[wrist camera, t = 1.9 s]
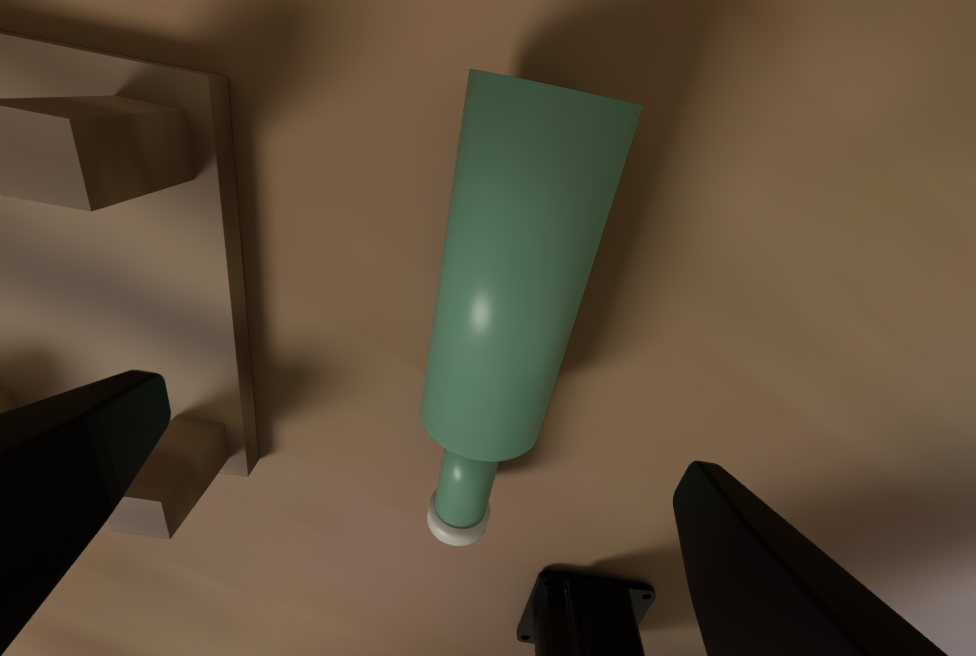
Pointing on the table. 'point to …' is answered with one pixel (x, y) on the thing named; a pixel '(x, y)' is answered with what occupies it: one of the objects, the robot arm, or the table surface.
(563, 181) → the bottle
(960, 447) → the table surface
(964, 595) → the table surface
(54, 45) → the cradle
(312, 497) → the table surface
